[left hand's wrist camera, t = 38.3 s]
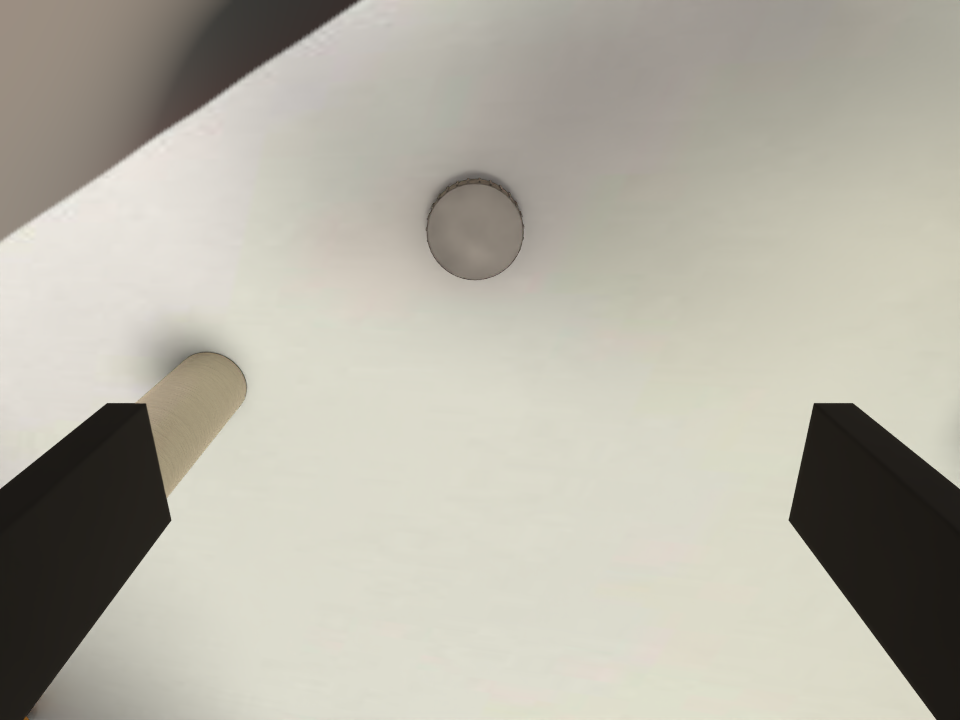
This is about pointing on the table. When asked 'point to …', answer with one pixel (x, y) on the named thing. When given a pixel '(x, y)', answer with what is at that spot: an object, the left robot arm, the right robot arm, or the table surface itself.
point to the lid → (475, 229)
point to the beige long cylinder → (192, 411)
